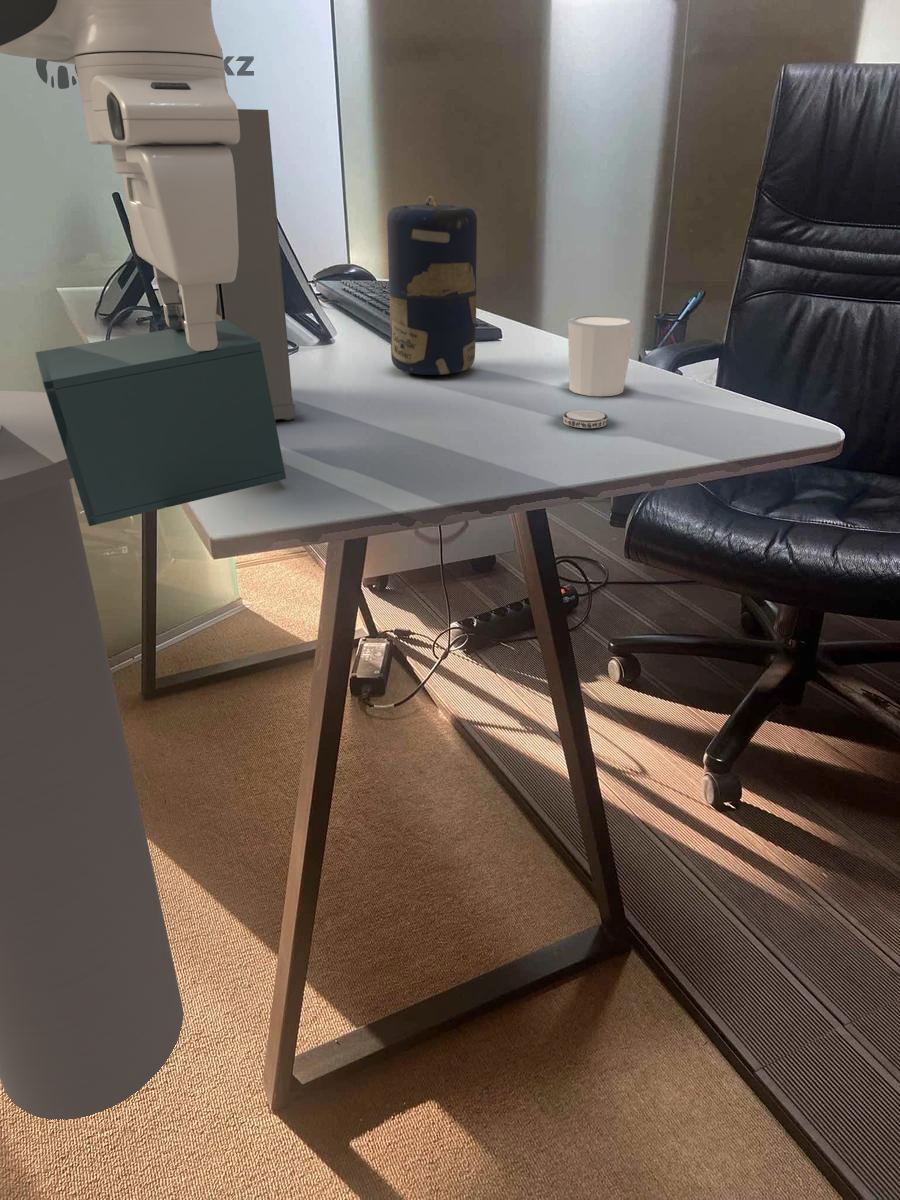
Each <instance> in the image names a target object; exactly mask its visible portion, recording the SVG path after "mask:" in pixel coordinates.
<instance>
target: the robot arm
mask: <svg viewBox="0 0 900 1200" xmlns="http://www.w3.org/2000/svg"><path fill="white" fill-rule="evenodd" d="M213 19H214V18H213V11H212V0H0V54H3V55H8V56H14V57H21V58H27V59H28V58H29V59H38V60H39V59H40V60H44V61H46V62H53V63H58V64H67V65H68V64H69V65H75V69H76V75H77V80H78V85H79V92H80V97H81V101H82V108H83V114H84V119H85V125H86V130H87V136H88V142H89V143H90V144H91V145H101V146H103V145H104V146H105V145H107V146H108V145H110V146H111V153H112V158H113V160H114V161H113V164H114V165H113V166H114V170H115V173H116V174H118V175H122V180H123V188H124V194H125V203H126V209H127V216H128V222H129V227H130V235H131V240H132V245H133V248H134V250H135V253H136V255H137V256H138V257H139V258H141V259H142V260H143V261H145V262H147V263H148V264H149V265H151V266H152V269H153V274H154V279H155V283H156V287H157V289H158V292H159V297H160V300H161V302H162V306H163V313H164V318H165V323H166V325H167V326H168V327H169V328H170V329H173V330H185V333H186V340H187V343H188V345H189V346H190V347H191V348H192V349H193V350H195V351H197V352H198V351H209V350H214V349H215V348H216V347H217V345H218V340H217V333H216V325H215V322H216V307H217V291H216V284H221V283H230V282H233V281H234V280H235V278H236V273H237V267H238V257H239V244H238V221H237V201H236V184H235V171H234V163H233V157H232V153H231V151H230V149H229V147H228V146H226V145H234V144H237V143H238V142H239V140H240V126H239V121H238V119H239V117H238V111H237V109H238V107H237V105H236V103H235V100H233V98H232V97H231V96H230V94H229V91H228V87H227V80H226V78H227V77H226V70H225V69H226V68H225V60H224V54H223V49H222V45H221V43H220V40H219V37H218V35H217V32H216V28H215V25H214V20H213ZM178 289H179V292H180V296H181V297H182V303H183V304H182V303H181V302H180V301H179V299H178V297H177V291H178ZM1 428H2V426H1V424H0V430H1Z"/></svg>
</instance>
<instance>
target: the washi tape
mask: <svg viewBox="0 0 900 1200" xmlns="http://www.w3.org/2000/svg"><path fill="white" fill-rule="evenodd" d="M562 418H563V419H562V422H563V424H565V425H567V426H569V427H572V428H573V427H574V428H579V429H597V428H603V427H605V426H607V424H608V415H607V414H606V413H604V412H602V411H598V410H590V409H573V410H568V411H566V412H564V413H563V417H562Z"/></svg>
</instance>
